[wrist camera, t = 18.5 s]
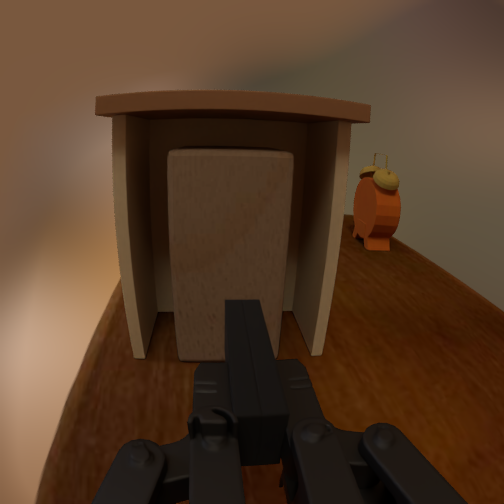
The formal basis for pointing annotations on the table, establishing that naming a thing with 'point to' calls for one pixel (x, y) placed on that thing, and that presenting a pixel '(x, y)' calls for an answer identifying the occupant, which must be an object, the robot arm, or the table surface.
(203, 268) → the wooden block
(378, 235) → the alarm clock
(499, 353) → the table surface
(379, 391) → the table surface
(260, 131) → the desk
